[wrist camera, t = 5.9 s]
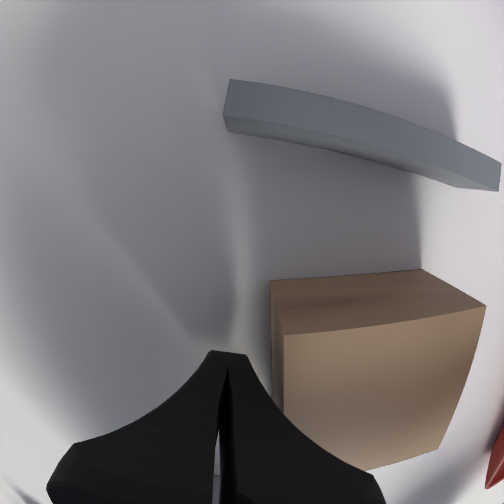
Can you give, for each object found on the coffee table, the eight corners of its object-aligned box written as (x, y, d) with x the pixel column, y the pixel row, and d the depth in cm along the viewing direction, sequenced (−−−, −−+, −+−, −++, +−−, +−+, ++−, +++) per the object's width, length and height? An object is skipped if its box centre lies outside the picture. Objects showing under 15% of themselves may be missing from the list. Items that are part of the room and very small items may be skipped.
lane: (343, 486, 14) (352, 517, 11) (188, 481, 13) (183, 515, 11) (459, 163, 10) (501, 163, 7) (232, 103, 9) (229, 79, 7)
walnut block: (400, 392, 12) (438, 448, 8) (272, 412, 12) (281, 484, 8) (421, 269, 11) (486, 305, 7) (269, 280, 11) (284, 335, 7)
